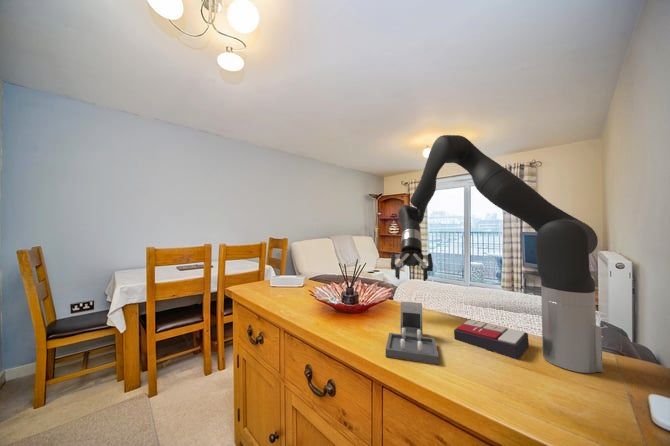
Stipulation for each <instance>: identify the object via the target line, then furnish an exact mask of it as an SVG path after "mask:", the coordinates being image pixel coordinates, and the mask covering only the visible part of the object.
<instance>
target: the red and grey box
mask: <svg viewBox="0 0 670 446" xmlns="http://www.w3.org/2000/svg"><path fill="white" fill-rule="evenodd" d="M453 336H454V340H456V341H459V342H462V343H465V344H468V345H471V346H474V347H477V348H479V349H484V350H486V351H487V350H488V351H491V352H495V353H497V354H499V355H501V356H504V357H507V358H510V359H513V360H517V361H518V360H520V359H521V357H522V356H524V354H525V352H526V351H527V350H526V349H528V348H529V347H530V344H529V334H528V332H526V331H523V330H518V329H514V328H508V327H507V326H502V325H498V324H494V323H493V324H492V323H486V322H484V321H479V320H473V319H468V320H466V321H465V322H463V323H462V324H460V325H458V326H457V327H456V328H454V329H453Z"/></svg>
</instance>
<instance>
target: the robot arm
mask: <svg viewBox="0 0 670 446" xmlns="http://www.w3.org/2000/svg"><path fill="white" fill-rule="evenodd" d="M445 164H456V165H458V166H460V167H461V168H463V169H464V170H465V171H467V172H468V174H469V175H470V176H471V179H472V181H473V185H474V186H475V188H476V190H477V191H478V192H479V193H480V194H481V195H482V196H483V197H485V199H487V200H488V201H489V202H490V203H492V204H493V205H495V207H497V208H499V209H501V210H503V211H504V212H506V213H509V214H510V215H511V216H514V217H516V218H518V219H519V220H521V221H523V222H525V223H526V224H527V225H528V226H529V227H530V228H532V229H533V230H534V231H535V232H536V233H537V234H536V237H535V253H536V254H535V256H536V268H537V273H538V276H539V279H540V285H541V286H540V287H541V288H540V290H541V292H540V293H541V329H542V330H541V333H542V334H541V335H542V337H541V338H542V339H541V340H542V342H541V343H542V346H541V349H542V358H543V359H544V360H546V361H547V362H549V363H551V364H552V365H553V366H557V367H559V368H561V369H565V370H569V371H573V372H577V373H582V374H593V373H597V372H599V373H603V372H604V370H603V369H604V367H603V366H604V365H603V334H602V333H603V332H602V331H603V329H602V328H601V327H600V326H599V325H598V324H597V315H596V310H597V309H596V282H595V279H594V278H593V276H592V274H591V269H590V267H591V266H590V254H591V253H594V251H595V250H596V249H597V246H598V242H599V239H598V235H597V233H596V232H595V230H594V229H593V228H592V227H591V226H590V225H589V224H587V223H585V222H583V221H581V220H580V219H578V218H576V217H574V216H573V215H571V214H569V213H568V212H565V211H564V210H562V209H560V208H559V207H558V206H556V205H554V204H552V203H551V202H550V201H548V200H547V199H546V198H544V197H543V196H542V195H541V194H540V193H539V192H537V191H536V190H535V189H534V188H533V187H532V186H531V185H529V184H527V183H526V182H525V181H524V180H522V179H521V178H519V176H517V175H515V174H514V173H513V172H512V171H511V170H508V169H507V168H506V167H504V166H502V165H501V164H499V163H498V162H497V161H495V160H494V159H492V158H491V157H489V156H488V155H486V154H485V153H484V152H482V151H481V150H480V149H479V148H478V147H477V146H476V145H475V144H474V143H472V142H471V141H470V140H469V139H468V138H467V137H466V136H462V135H459V134H457V135H456V134H443V135H440V136H439V137H437V138H436V139H435V141H434V142H433V144H432V146H431V149H430V151H429V154H428V157H427V160H426V163H425V165H424V169H423V172H422V175H421V177H420V180H419V182H418V184H417V186H416V188H415V190H414V191H413V193H412V195H411V198H410V203H411V205H412V206H411V205H408V204H405V205H402V206H401V207H400V208H399V210H398V220H399V223H400V226H401V228H402V229H401V230H402V231H401V238H400V253H399V254H396V253H395V252H391V258H390V269H391V270H394V271H395V274H394V275H395V276H394V277H395V278H396V280H400V273H401V272H400V271H401V269H403V268H404V267H418V268H419V269H420V270H421V271H422V279H423V282H426V280H428V278H429V276H428V275H429V274H428V272H433V270H434V264H433V263H434V262H433V257H432V254H431V253H428V254H423V247H422V243H423V242H422V236H421V225H420V224H421V223H423V221H424V217H425V212H426V210H427V206H428V205H429V203H430V201H431V199H432V198H433V196H434V195H435V193H436V190H437V178H438V177H437V176H438V174H439V172H440V170H441V169H442V167H443V166H445ZM398 259H399V261H398V262H397V263H396V261H397V260H398ZM424 260H425V262H427V265H426V263H425V262H424Z"/></svg>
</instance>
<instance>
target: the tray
mask: <svg viewBox="0 0 670 446" xmlns="http://www.w3.org/2000/svg"><path fill="white" fill-rule="evenodd" d="M437 347H438V346H437V343H436V339H435V338H434V337H426V336H423V337H421V330H417V336H412V335H406V329H405V328H402V334H401V333H394V332H389V333H388V337H387V341H386V346H385V357H386V358H391V359H392V358H393V359H399V360H407V361H413V362H420V363H426V364H431V365H432V364H433V365H440V363H439V361H440V360H439V357H440V356H439V351H438V348H437Z"/></svg>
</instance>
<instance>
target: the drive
mask: <svg viewBox="0 0 670 446" xmlns="http://www.w3.org/2000/svg"><path fill="white" fill-rule="evenodd" d="M399 312H400V334H402V328H405V329H406V335H412V336H417V330H421V337H424V336H423V303H422V302H412V301H404V300H403V301H402V300H401V301H400V310H399Z"/></svg>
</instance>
